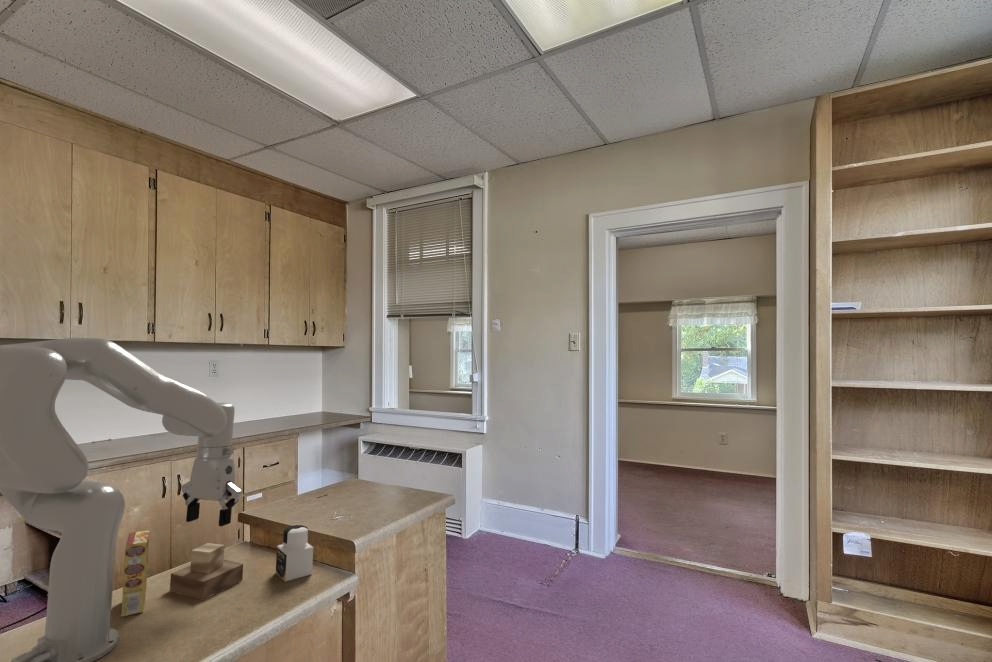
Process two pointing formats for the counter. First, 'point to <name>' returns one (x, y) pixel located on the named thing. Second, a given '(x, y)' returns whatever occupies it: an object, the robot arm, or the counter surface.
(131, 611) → the candy box
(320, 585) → the counter surface
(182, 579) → the walnut block
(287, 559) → the medicine bottle
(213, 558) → the maple cube
